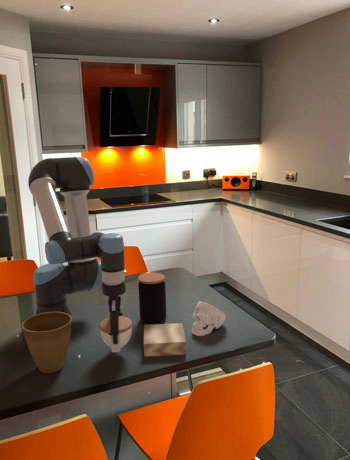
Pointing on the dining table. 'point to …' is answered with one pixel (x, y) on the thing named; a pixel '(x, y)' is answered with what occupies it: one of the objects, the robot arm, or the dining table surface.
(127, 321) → the lidded jar
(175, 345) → the beech block
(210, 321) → the skull bowl
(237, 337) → the dining table surface
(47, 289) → the robot arm
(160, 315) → the coffee jar
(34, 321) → the plant pot
